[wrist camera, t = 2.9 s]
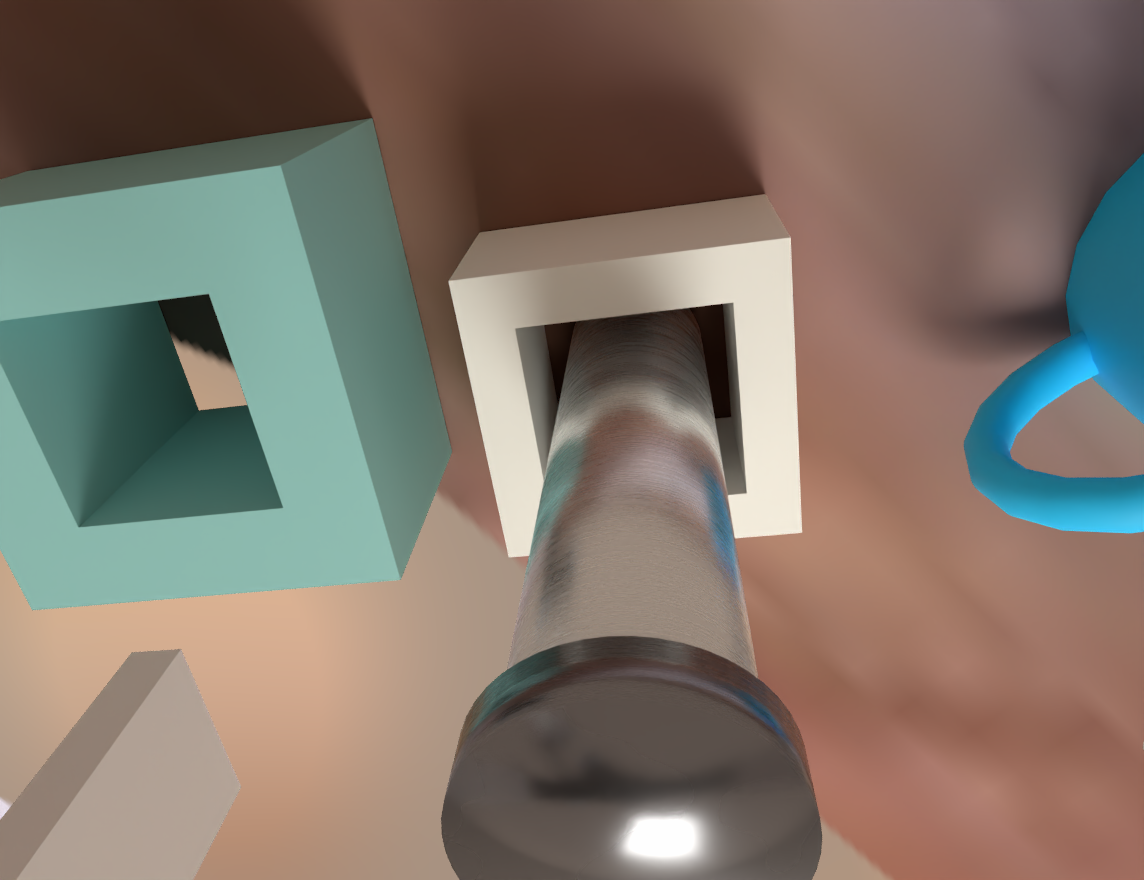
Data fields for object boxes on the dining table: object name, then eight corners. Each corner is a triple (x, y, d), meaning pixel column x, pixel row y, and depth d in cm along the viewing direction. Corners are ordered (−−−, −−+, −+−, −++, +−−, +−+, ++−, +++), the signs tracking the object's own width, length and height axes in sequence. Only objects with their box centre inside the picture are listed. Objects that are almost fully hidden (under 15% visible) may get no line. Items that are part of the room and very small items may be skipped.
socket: (156, 482, 26) (32, 610, 21) (27, 171, 22) (-168, 231, 17) (452, 452, 25) (400, 579, 20) (372, 117, 21) (280, 165, 16)
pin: (568, 426, 24) (481, 965, 11) (544, 279, 22) (402, 713, 9) (723, 410, 24) (825, 956, 10) (710, 258, 22) (817, 688, 9)
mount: (527, 475, 25) (508, 557, 22) (479, 232, 22) (448, 281, 18) (778, 451, 24) (801, 532, 21) (765, 194, 21) (790, 237, 18)
